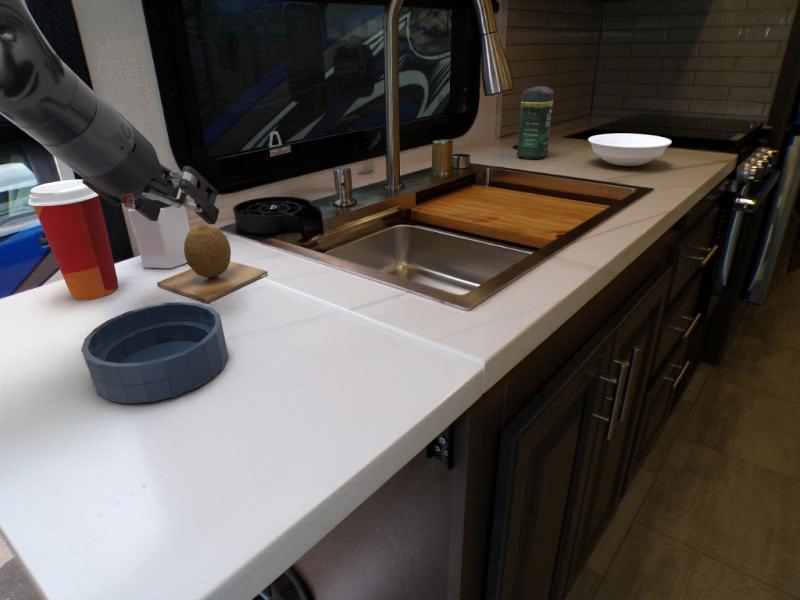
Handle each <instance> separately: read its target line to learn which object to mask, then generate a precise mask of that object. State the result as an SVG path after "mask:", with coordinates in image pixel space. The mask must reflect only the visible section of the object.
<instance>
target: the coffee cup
mask: <svg viewBox="0 0 800 600" xmlns="http://www.w3.org/2000/svg"><path fill="white" fill-rule="evenodd" d="M82 182H83V179H66V180H58V181H53V182H48V183H42V184H40V185H37V186H34V187H32V188H31V189H30V194H29V195H28V197H29V199H28V202H27V204H28V205H29V206H33V209H34V211H35V213H36V216H37V218H38V221H39V223H40V225H41V228H42V231H43V233H44V235H45V238H46V240H47V243H48V244H49V248H50V249H51V251H52V254H53V256H54V259H55V262H56V265H57V266H58V268H59V271H60V273H61V275H62V278H63V279H64V282H65V284H66V287H67V289H68V291H69V293H70V295H71V297H72V298H73V299H75V300H80V301H89V300H96V299H99V298H103V297H106V296H109V295H111V294H113V293H115V292H116V291H117V290H118V288H119V281H118V275H117V270H116V267H115V262H114V256H113V253H112V247H111V242H110V238H109V237H110V236H109V233H108V229H107V224H106V220H105V216H104V212H103V208H102V203H101V199H100V198H101V197H100V196H99V195H98V194H96V193H95V192H94V191H92V190H91V189H90V188H89V187H87V186H86V185H85V184H83V183H82Z"/></svg>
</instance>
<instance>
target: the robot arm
mask: <svg viewBox="0 0 800 600" xmlns="http://www.w3.org/2000/svg"><path fill="white" fill-rule="evenodd" d="M44 35H45V34H44V33H42V31H41V29H40V28H39V25H37V23H36V21H35V19H34V17H33V16H32V14H31V12H30V10H29V9H28V7H27V6H26V4H25V2H24V1H23V0H0V115H2V117H4V118H6V119H7V120H8V121H10V122H11V123H12V124H14V125H15V126H16V127H18V128H19V129H20V130H22V131H23V132H25V134H27V135H28V136H30V137H31V138H33V139H34V140H35V141H37V142H38V143H39V144H40V145H42V146H43V147H44V148H45V149H46V151H48V152H49V153H50V154H51V155H52V156H53V157H54V158H56V160H58V161H59V162H61V163H62V164H64V166H66V167H68V168H69V169H70V170H71V171H73V172H74V173H75V174H78V175H79V176H80V177H81V178H83V179H82V180H83V182H82V183H83V184H85V185H86V186H87V187H89V188H90V189H91V190H92V191H94V192H95V193H96V194H98V195H99V198H102V199H103V200H104V201H105V202H106V203H108V204H109V205H111V206H113V207H119V206H120V204H123V205H124V207H125V208H126V209H135V210H136V211H138V212H139V213H140V214H142V215H143V216H144V217H146V218H147V219H148V220H150V221H157V220H158V217H159V214H160V207H159V206H158V205H157V204H156V203H155V202H153V201H152V200H159V201H162V202H164V203H166V204H169V205H171V206H174V207H176V208H180V207H181V206H184V207H186V209H189V210H190V211H194V213H195V214H196V215H197V216H198V217H200V218H201V219H202V220H203V221H204V222H205V223H206V224H207V225H215V224H216V223H217V221H218V218H219V214H220V209H219V208H218V207H217V206H216V205H215V203H216V199H217V196H218V194H219V191H218V189H216V188H215V187H214V186H213V185H212V184H211V183H210V182H209V181H208V180H207V179H205V177H204V176H202V175H201V174H200V173H199V172H198V171H197V170H196V169H195V168H193V167H192V166H189V165H184V166H183V168H182V171H179V172H176V171H175V172H174V171H173V170H172V169H170V168H168V167H167V166H166V165H164V164H162V163H161V162H160V160H159V158H158V154H157V151H156V148H155V147H154V145H153V144H152V143H151V142H150V141H149V140H148V138H146V137H145V136H144V135H143V134H142V133H141V132H140V131H139V130H138V129H137V128H136V127H135V126H134V125H133V124H132V122H130V121H129V120H128V119H126V118H125V117H124V115H123V114H122V113H121V112H119V111H118V109H117V108H115V107H114V106H113V105H112V104H111V103H110V102H109V101H107V100H106V99H105V98H103V97H102V96H101V95H99V94H98V93H96V92H95V91H94V90H93V89H92V88H91V87H90V86H89V85H88V84H87V83H86V82H85V81H84V80H83V79H82V78H81V77H79V76H78V74H77V73H75V72H74V70H72V69H71V68H70V67H69V66H68V64H66V63H65V62H64V61H63V60H62V59H61V57H60V56H59V55H58V53H56V51H55V50H54V48H53V47H52V45H51V44H50V42H49V41H48V40H47V38H46V37H45V36H44ZM174 184H177V185H178V187H179V191H178V195H177V198H176V199H175V198H172V197H170V196H171V194H172V191H173V187H174ZM187 196H189V197H190V198H191V199H192V200H193V201H191V200H188V199H187Z"/></svg>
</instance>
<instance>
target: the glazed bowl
mask: <svg viewBox="0 0 800 600" xmlns="http://www.w3.org/2000/svg"><path fill="white" fill-rule="evenodd" d="M223 327H224V326H223V323H222V318H221V314H220V313H219V312H218V311H217V310H216V309H214V307H212V306H208V305H205V304H202V303H198V302H189V301H175V302H162V303H157V304H151V305H146V306H142V307H140V308H136V309H132V310H128V311H126V312H124V313H121V314H119V315H117V316H114V317H112V318H109V319H108V320H106V321H105V322H103V323H102V324H100V325H98V326H96V327H95V328H94V329H93V330H91V331H90V333H89V334H87V336H86V337H85V338H84V339H83V342H82V345H81V349H80V351H81V353H82V357H83V359H84V362H85V364H86V365H85V366H86V368H87V371H88V374H89V377H90V379H91V382H92V385H93V387H94V389H95V392H96V393H97V394H98V395H100V396H102V398H105V399H106V400H108V401H111V402H118V403H123V404H139V403H140V404H141V403H142V404H143V403H153V402H157V401H161V400H166V399H170V398H171V399H172V398H174V397H175V398H176V397H177V396H180V395H182V394H184V393H187V392H190V391H193V390H194V389H196V388H198V387H200V386H201V385H204V384H205V383H206V382H209V381H210V380H211V379H213V378H214V377H215V376H216V375H217V374H218V373H219V372H220V371H221V370H222V369H223V368H224V366H225V364H226V363H227V359H228V358H229V352H228V347H227V341H226V338H225V332H224V328H223Z"/></svg>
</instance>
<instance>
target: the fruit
mask: <svg viewBox="0 0 800 600" xmlns="http://www.w3.org/2000/svg"><path fill="white" fill-rule="evenodd" d="M184 254H185V258H186V261H187V263H186V264H188V266H189V267H190V269H192V270H193V271H194V272H195V273H196V274H197V275H199V276H203V277H207V278H216V277H218V276H219V275H221V274H222V273H223V272H225V271H226V270H227V268H228V266H229V263H230V261H231V256H232V250H231V245H230V241H229V239H228V237H227V236H226V234H225V233H224V232H223V231H222V230H220V228H218V227H217V226H214V225H208V224H205V223H201V224H200V225H198V226H197V227H195V228H191V230H190V231H189V233H188V234H187V237H186V240H185V243H184Z"/></svg>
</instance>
